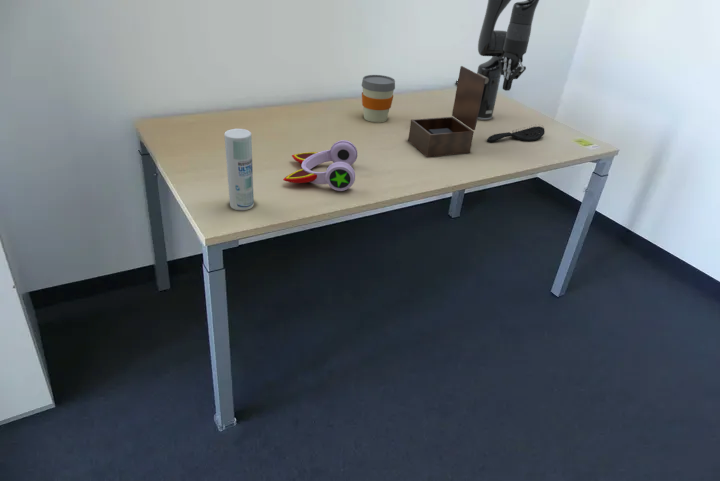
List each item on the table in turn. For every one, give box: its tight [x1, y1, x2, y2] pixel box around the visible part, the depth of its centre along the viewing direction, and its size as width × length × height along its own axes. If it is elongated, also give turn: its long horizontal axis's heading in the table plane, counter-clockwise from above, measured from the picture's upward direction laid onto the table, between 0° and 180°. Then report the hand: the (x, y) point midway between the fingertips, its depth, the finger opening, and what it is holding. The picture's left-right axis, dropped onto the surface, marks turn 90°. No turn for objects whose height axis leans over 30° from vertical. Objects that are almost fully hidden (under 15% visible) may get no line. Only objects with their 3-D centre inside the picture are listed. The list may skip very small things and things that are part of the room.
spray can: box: [223, 128, 255, 211], centre depth 135 cm, size 6×6×20 cm
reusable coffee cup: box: [361, 74, 396, 123], centre depth 201 cm, size 13×13×15 cm
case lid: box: [451, 65, 489, 131], centre depth 179 cm, size 17×15×5 cm
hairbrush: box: [486, 123, 546, 143], centre depth 196 cm, size 8×4×25 cm
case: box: [407, 116, 475, 158], centre depth 182 cm, size 17×15×8 cm
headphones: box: [283, 139, 358, 192], centre depth 156 cm, size 20×10×20 cm
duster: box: [428, 128, 452, 134], centre depth 183 cm, size 8×4×5 cm, turn 112°
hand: (506, 89), depth 182 cm, fingers closed
